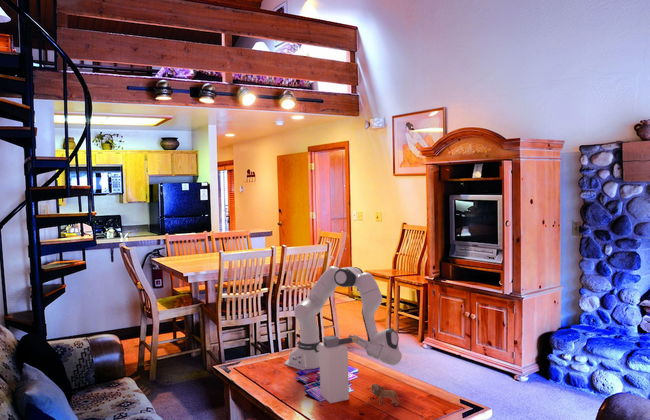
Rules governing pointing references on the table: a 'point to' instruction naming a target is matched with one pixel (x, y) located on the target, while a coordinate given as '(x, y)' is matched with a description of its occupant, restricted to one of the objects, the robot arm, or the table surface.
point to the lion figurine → (384, 393)
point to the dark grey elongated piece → (338, 341)
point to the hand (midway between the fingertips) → (353, 338)
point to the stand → (334, 373)
